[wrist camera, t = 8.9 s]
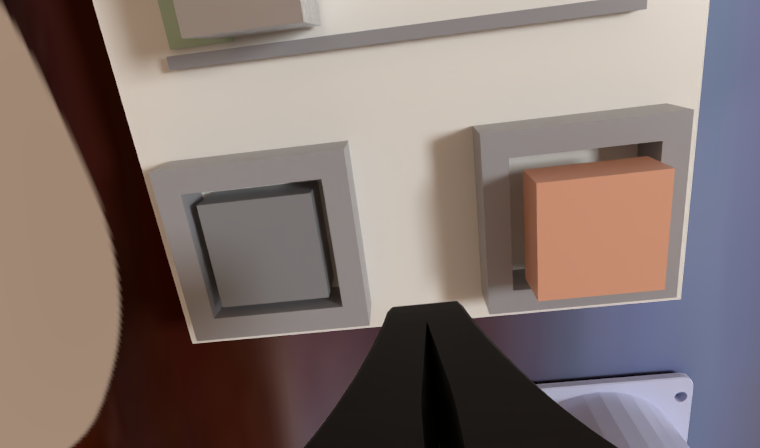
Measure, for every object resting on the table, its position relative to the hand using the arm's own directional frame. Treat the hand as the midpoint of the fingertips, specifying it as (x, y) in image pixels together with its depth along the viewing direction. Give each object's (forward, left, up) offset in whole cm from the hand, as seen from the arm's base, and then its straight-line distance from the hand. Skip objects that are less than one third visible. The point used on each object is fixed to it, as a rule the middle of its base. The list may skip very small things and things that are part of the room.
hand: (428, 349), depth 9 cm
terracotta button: (0, -5, -6) cm, 8 cm away
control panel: (+4, 0, -10) cm, 11 cm away
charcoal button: (0, +5, -8) cm, 9 cm away
